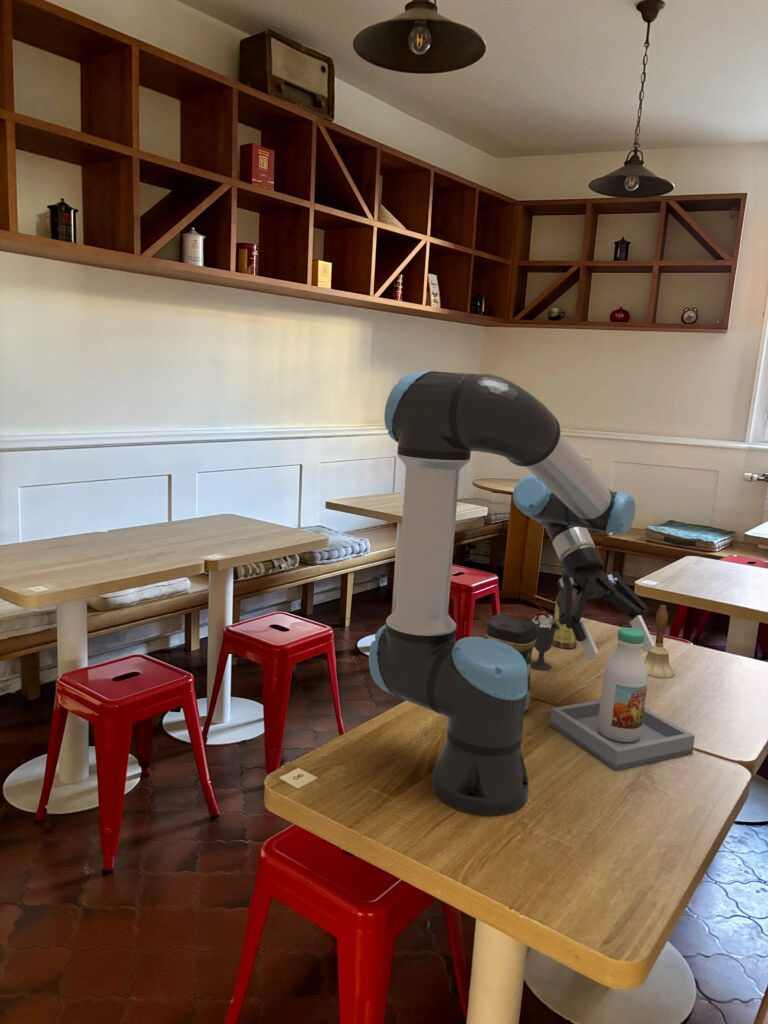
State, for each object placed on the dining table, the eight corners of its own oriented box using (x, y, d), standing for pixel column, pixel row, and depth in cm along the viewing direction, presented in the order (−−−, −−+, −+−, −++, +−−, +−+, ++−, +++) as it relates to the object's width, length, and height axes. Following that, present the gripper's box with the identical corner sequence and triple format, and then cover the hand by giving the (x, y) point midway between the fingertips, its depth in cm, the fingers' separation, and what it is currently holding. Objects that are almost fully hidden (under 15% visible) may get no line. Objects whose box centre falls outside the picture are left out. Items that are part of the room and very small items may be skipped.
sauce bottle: (561, 639, 194) (569, 564, 191) (582, 646, 190) (590, 570, 186) (545, 644, 190) (553, 567, 187) (566, 651, 185) (574, 573, 182)
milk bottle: (592, 736, 138) (605, 632, 134) (601, 720, 145) (614, 621, 141) (636, 748, 134) (650, 641, 131) (643, 731, 141) (657, 629, 138)
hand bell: (659, 680, 170) (668, 612, 167) (629, 668, 177) (637, 602, 174) (682, 674, 174) (691, 608, 172) (652, 662, 181) (660, 598, 179)
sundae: (520, 661, 177) (526, 600, 174) (545, 660, 179) (551, 599, 176) (534, 672, 170) (540, 608, 168) (560, 670, 172) (566, 607, 170)
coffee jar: (473, 706, 151) (481, 616, 147) (491, 694, 157) (498, 608, 154) (518, 720, 145) (527, 628, 142) (534, 707, 152) (543, 618, 149)
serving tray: (615, 770, 128) (618, 751, 127) (549, 725, 144) (551, 708, 143) (692, 753, 136) (694, 735, 135) (621, 712, 152) (623, 696, 151)
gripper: (615, 561, 159) (659, 654, 148) (517, 567, 148) (557, 668, 137) (636, 542, 153) (684, 637, 142) (536, 547, 142) (579, 650, 132)
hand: (622, 653), depth 140 cm, fingers open, 13 cm apart
